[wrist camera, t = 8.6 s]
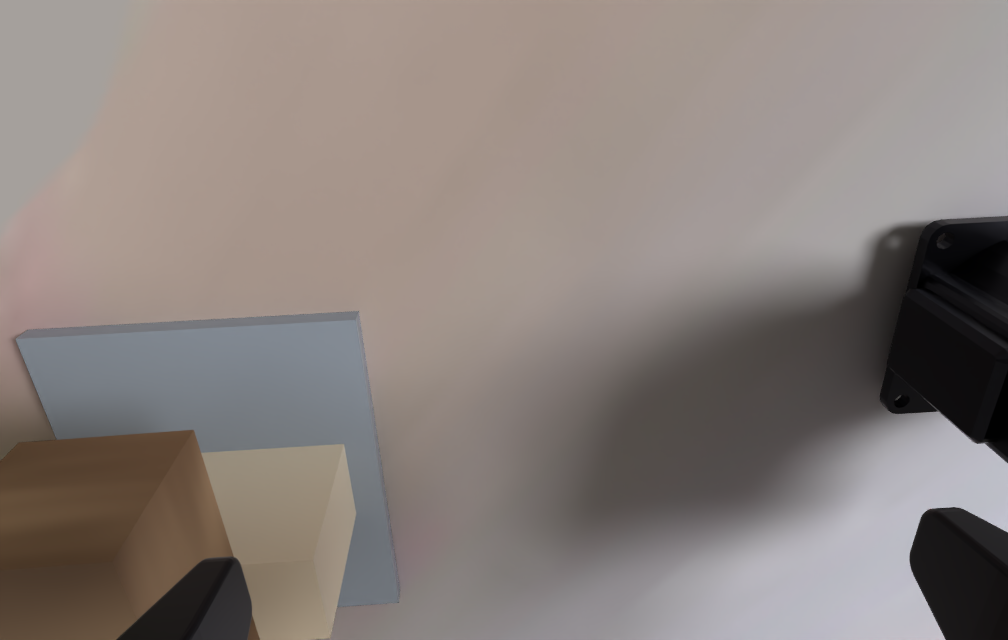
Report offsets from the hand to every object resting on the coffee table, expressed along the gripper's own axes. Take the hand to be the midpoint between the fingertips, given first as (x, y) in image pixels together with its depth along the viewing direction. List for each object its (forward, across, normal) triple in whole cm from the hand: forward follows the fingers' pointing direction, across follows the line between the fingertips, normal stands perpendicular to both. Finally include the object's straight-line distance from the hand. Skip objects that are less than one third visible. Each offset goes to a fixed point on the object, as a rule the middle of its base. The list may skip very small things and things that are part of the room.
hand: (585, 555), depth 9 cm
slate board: (+12, +10, +8) cm, 18 cm away
